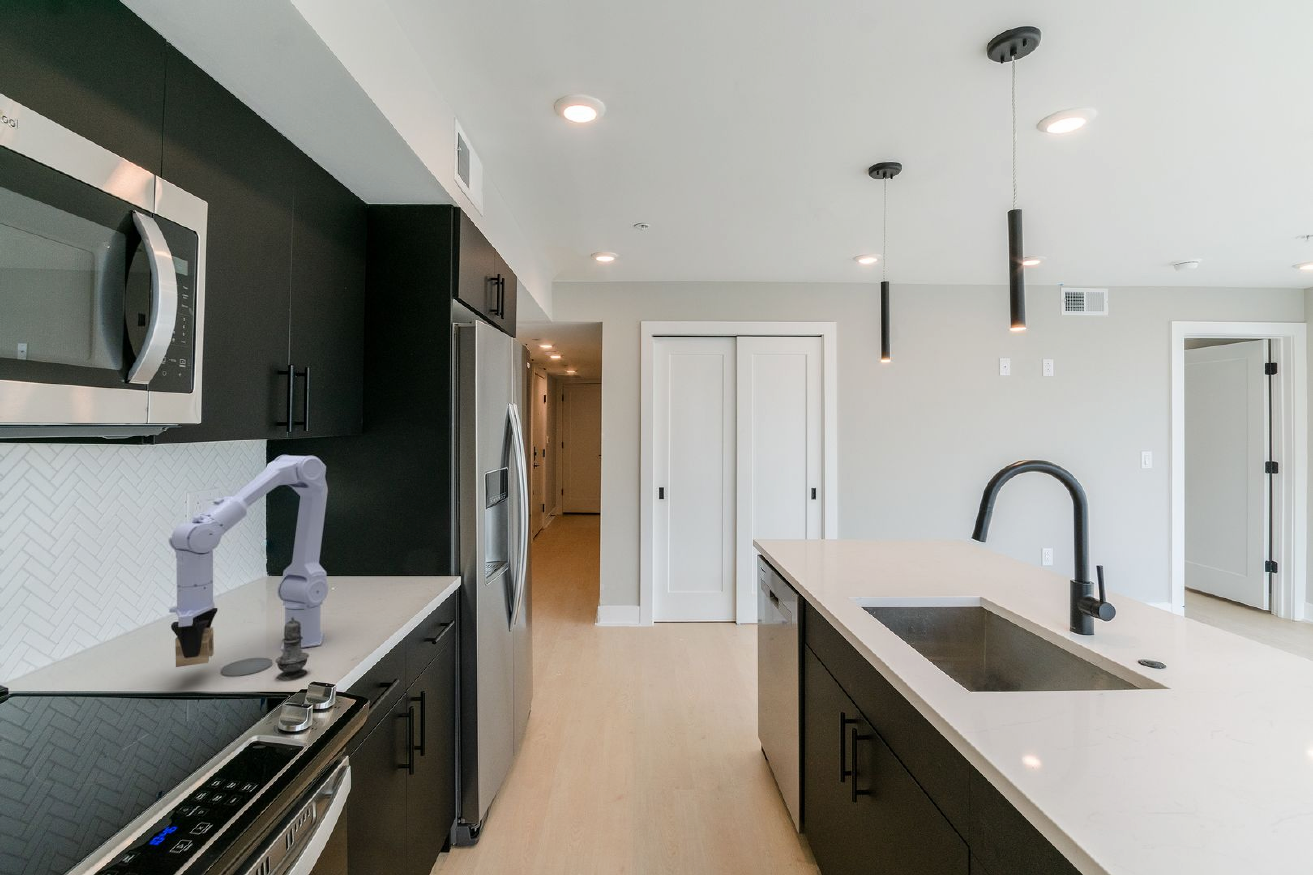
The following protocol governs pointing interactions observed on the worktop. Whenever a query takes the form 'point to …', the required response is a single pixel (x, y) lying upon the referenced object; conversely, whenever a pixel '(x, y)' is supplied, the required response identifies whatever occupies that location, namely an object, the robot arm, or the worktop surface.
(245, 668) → the pad
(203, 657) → the slotted wooden block
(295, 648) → the dark grey stone ornament
